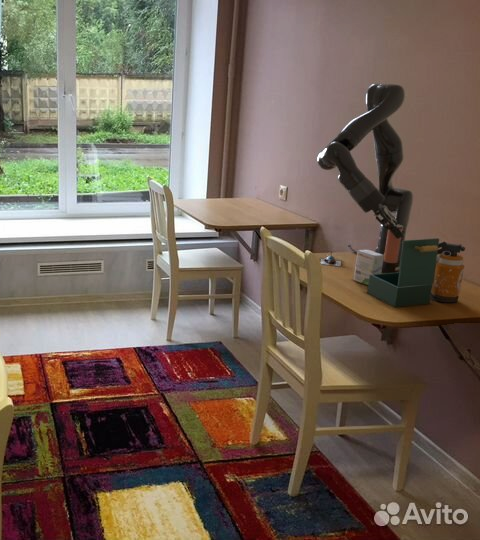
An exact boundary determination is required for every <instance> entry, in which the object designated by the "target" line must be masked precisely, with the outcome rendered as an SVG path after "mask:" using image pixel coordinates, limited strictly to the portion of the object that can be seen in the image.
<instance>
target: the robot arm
mask: <svg viewBox="0 0 480 540" xmlns="http://www.w3.org/2000/svg"><path fill="white" fill-rule="evenodd" d="M405 97H406V92H405V88H404V87H403V86H402V85H401V84H395V83H373V84H371V85H370V86H369V87H368V89H367V90H366V95H365V104H366V110H367V112H365V113H363V114H361V115H359V116H357V117H355V118H354V119H352V120H351V121H350V122H347V124H346V125H345V126H344V127H343V128H342V129H341V130H340V131H339V133H338V134H337V135H336V136H335V138H334V139H333V140H331V141H330V142H329V143H328V144H327V145H326V146H325V147H324V148H323V149H322V150H321V151H320V152H319V153H318V156H317V164H318V166H319V167H320V169H322V170H325V171H331V170H334V169H336V168H337V170H338V172H339V174H338V176H337V180H338V182H339V184H340V185H341V186H342V187H343V188H344V189H345V190H346V191H347V193H348V194H349V196H350V197H351V199H352V200H354V202H355V203H356V204H357V205H358V206H359V208H360V209H361V210H362V211H363V213H365V214H367V213H370V211H372V212H373V216H374V218H375V220H377V221H378V222H379V223H380V226H379V233H378V241H377V246H376V247H375V249H374V252H376V253H379V254H382V255H384V253H385V247H386V240H387V233H388V230H390V231H391V232H392V233H393V235H394V236H395V237H396V238H397V239H399V238H400V237H401V242H400V249H399V255H398V262H397V263H387V262H385V261H384V258H383V264H382V272H381V274H383V273H395V272H399V269H400V260H401V252H402V243H403V241H404V240H406V235H407V229H408V226H409V222H410V218H411V214H412V213H411V211H412V208H413V203H414V194H413V192H412V191H411V190H409V189H402V188H397V187H394V186H393V178H394V176H395V174H396V172H397V171H398V170H399V168H400V167H401V165H402V163H403V161H404V146H403V141H402V138H401V137H400V135H399V133H398V132H397V130H396V129H395V128H394V127H393V125H392V124H391V123H390V121H389V120H388V118H390V117H391V116H392V115H394V114H395V113H396V112H398V111H399V109H401V107H402V106H403V104H404V101H405ZM370 132H372V138H373V148H374V155H375V157H374V158H375V163H376V169H377V179H378V188H377V187H376V185H375V184H374V183H373V182H372V181H371V180H370V179H369V178H368V177H367V176H366V175H365V174H364V173H363V172H362V171H361V170H360V169H359V167H358V166H357V163H356V162H355V159H354V157H353V155H352V153H351V151H353V150H354V149H355V148H356V147H357V146H358V145H359V144H360V143H361V142H362V140H364V138H365V137H366V136H367V135H369V133H370ZM393 214H395V216H394V215H393ZM396 224H398V225H402V226H403V229H402V232H401V231H400V230H399V229H398V227H397V226H396ZM347 247H348V248H349V249H350V250H351V251H352V252H353V253H355V254H357V250H355V249H353V248H352V244H348V245H347Z"/></svg>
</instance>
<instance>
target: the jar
mask: <svg viewBox="0 0 480 540" xmlns="http://www.w3.org/2000/svg"><path fill="white" fill-rule="evenodd" d="M396 226H397V227H398V229H399V230H400V231H401V232H402V229H403V226H402V225H398V224H396ZM400 242H401V237H400V238H399V239H397V238H396V237H395V236H394V235H393V233H392V232H391V231H390V230H388V233H387V240H386V247H385V253H384V261H385V262H387V263H397V262H398V255H399V249H400Z"/></svg>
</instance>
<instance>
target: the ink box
mask: <svg viewBox="0 0 480 540" xmlns="http://www.w3.org/2000/svg"><path fill="white" fill-rule="evenodd" d="M356 252H357V253H356V258H355V268H354V274H353V281H355V282H358V283H361V284H363V285H365V286H368V284H369V277H370V275H371V274H381V272H382V264H383V258H384V255H382V254H379V253H376V252H375V251H373V250H370V249H358V250H356Z"/></svg>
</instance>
